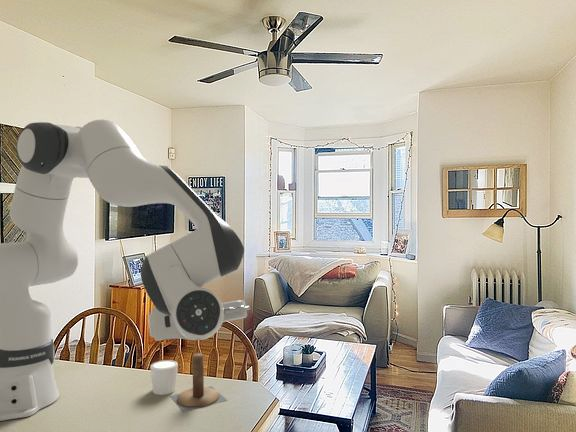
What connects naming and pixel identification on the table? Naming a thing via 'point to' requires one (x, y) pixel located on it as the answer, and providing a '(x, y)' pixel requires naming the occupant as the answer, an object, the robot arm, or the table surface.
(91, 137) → the robot arm
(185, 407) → the mat
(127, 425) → the table surface
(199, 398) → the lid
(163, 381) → the white cup
